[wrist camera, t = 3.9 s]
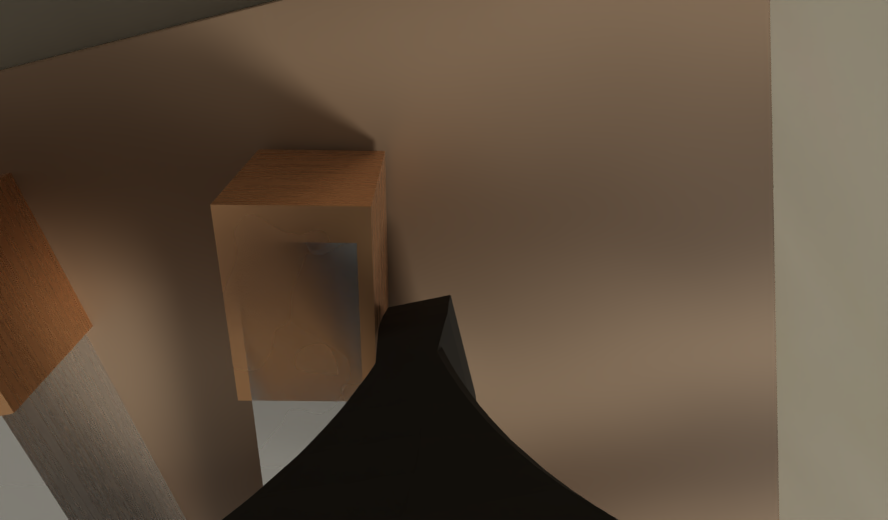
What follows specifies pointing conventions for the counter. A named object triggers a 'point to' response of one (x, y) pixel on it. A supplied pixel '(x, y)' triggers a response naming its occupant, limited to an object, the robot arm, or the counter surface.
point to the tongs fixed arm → (61, 396)
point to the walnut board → (446, 222)
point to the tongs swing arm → (302, 287)
